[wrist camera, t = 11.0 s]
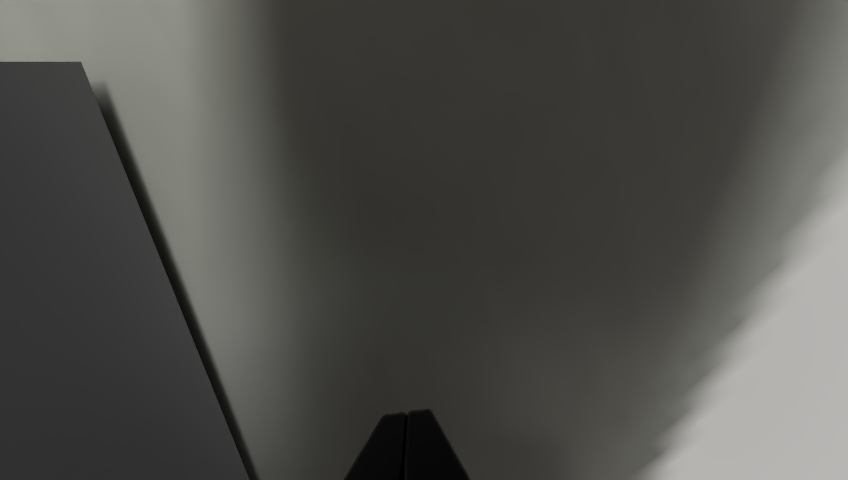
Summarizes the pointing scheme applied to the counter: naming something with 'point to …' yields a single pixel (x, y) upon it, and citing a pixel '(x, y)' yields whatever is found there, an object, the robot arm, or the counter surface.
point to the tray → (89, 306)
